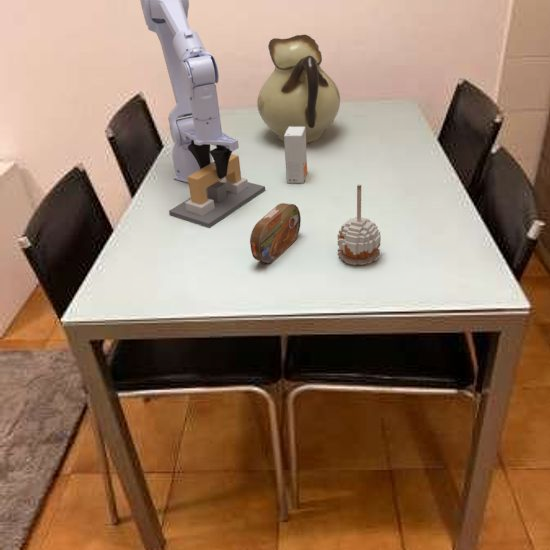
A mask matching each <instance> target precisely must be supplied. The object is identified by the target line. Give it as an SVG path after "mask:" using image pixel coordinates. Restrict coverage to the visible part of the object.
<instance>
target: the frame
mask: <svg viewBox="0 0 550 550" xmlns="http://www.w3.org/2000/svg"><path fill="white" fill-rule="evenodd" d="M212 162H213V163H211V164H209V165H207V166H205V167H204V168H202V169H200V170H198V171H197V172H195V173H193V174H191V175H190V176H188V177H187V178H188V183H187V184H188V189H189V195H190V198H191V201H192V202H194V203H198V204H201V205H202V204H204V203H205V202H207V201H208V200H207V194H206V188H208V187H209V186H211V185H213V184H214V183H216V182H218V181H219V180H221V179H220V178H219V177H218V175H217V170H216V165H215V162H214V161H212ZM225 177H226V181H230V182H234V183H237V182H239V181H240V180H241V178H242V174H241V163H240V156H239V155H237V154H234V153H231V156H230V159H229V163H228V169H227V176H225Z"/></svg>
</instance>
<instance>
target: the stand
mask: <svg viewBox="0 0 550 550" xmlns="http://www.w3.org/2000/svg"><path fill="white" fill-rule="evenodd" d="M265 191H266V186H265V185H260V184H257V183H252V182H249V181H248V179H247V178H244V177H241V180H240V181H239V182H237V183H234V182H230V181H226V177H224V178H222V179H221V180H219V181H218V182H216V183H214V184H213V185H211V186H209V187H208V188H206V194H207V200H208V201H207V202H205V203H204V204H202V205H201V204H198V203H194V202H192V201H191V197H190V198H188V199H185V201H182V202H181V203H179V204H178V205H176V206H174V207H173V208H171V209H170V210H169V211H168V212H169V214H168V215H169V216H172V217H176V218H179V219H180V220H184V221H188V222H191V223H194V224H197V225H199V226H202V227H203V226H204V227H206V228H211V227H213V226H214V225H216V224H217V223H220V221H223V219H225V218H226V217H228V216H230V215H231V214H232V213H234V212H235V211H237V210H238V209H240V208H241V207H242V206H244V205H246V204H247V203H249V202H251V201H252V200H253V199H255V198H256V197H258V196H259V195H260V194H262V193H264V192H265Z"/></svg>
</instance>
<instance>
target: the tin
mask: <svg viewBox="0 0 550 550" xmlns="http://www.w3.org/2000/svg"><path fill="white" fill-rule="evenodd" d="M301 221H302V220H301V211H300V210H299V207H298V206H297V205H296V204H295V203H294V204H293V203H285V202H284V203H283V202H282V203H279V204H277V205H276V206H275V207H273V208H272V209H271V210H270V211H269V212H268V213H267V214H265V215H264V216H263V217H262V218H261V219H260V220H259V221H257V223H256V224H255V225H254V226H253V228H252V231H251V233H250V237H249V245H250V251H251V254H252V257H253V258H254V259H255V260H256V261H259V262H264V263H265V264H271V263H273V262H275V261H276V260H277V259H278V258H279V257H280V256H281V255H282V254H284V252H285V251H286V250H287V249H288V248H289V247H291V245H292V244H294V242H295V241H296V240H297V239H298V238H297V237H298V235H299V234H300V229H301Z"/></svg>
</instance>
